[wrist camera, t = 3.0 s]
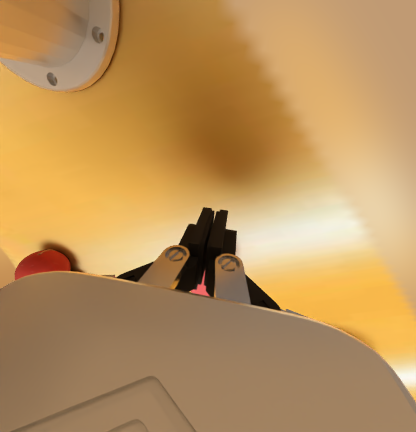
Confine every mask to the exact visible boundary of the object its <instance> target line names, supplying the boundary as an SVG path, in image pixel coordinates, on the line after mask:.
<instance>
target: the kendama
mask: <svg viewBox="0 0 416 432" xmlns="http://www.w3.org/2000/svg"><path fill="white" fill-rule="evenodd" d="M51 271H70V262H69V260H68V258H67V257H66V256H65V255H64V254H62V253H60V252H58V251H55V250H52V249H50V250H43V251H38V252H35V253H33V254H31V255H29V256H27V257H26V258H24V259H23V260H22V261H21V262H20V263H19V265H18V266H17V268H16V271H15V280H17V279H19V278H22V277H25V276H28V275H32V274H37V273H43V272H51Z"/></svg>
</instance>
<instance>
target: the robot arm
mask: <svg viewBox="0 0 416 432" xmlns="http://www.w3.org/2000/svg"><path fill="white" fill-rule="evenodd" d="M118 27H119V0H0V62H1V63H2V64H4V65H5V66H6V67H7V68H8V69H9V70H10V71H12V72H13V73H15V74H16V75H18V76H19V77H21V78H22V79H24V80H25V81H27V82H29V83H31V84H33V85H36V86H38V87H40V88H44V89H48V90H52V91H59V92H73V91H80V90H82V89H85V88H87V87H89V86H91V85H92V84H93V83H95V82H96V81H97V80H98V79H99V78H100V77H101V76H102V74H103V73H104V71H105V70H106V69H107V67H108V65H109V63H110V60H111V58H112V55H113V53H114V50H115V45H116V40H117V36H118ZM103 36H104V40H103ZM227 215H228V211H227V210H220V212H219V211H217V212H216V216H215V219H214V211H212V208H205V207H204V208H203V210H202V212H201V215H200V217H199V219H198V222H197V224H196V225H195V224H189V225H188V227H187V229H186V231H185V233H184V235H183V237H182V239H181V241H180V243H179V245H173V246H170V247H168V248H166V249H165V250H164V251H163V252H162V253H161V255H160V256H159V257H158V258H157V259H156V260H155V261H154V262H152V263H149V264H146V265H144V266H141V267H139V268H136V269H133V270H131V271H128V272H126V273H123V274H121V275H119V276H118V277H115V275H95V274H89V273H82V272H72V271H51V272H43V273H37V274H32V275H28V276H25V277H22V278H19V279H17V280H15V281H14V282H11V283H10V284H8V285H6V286H4V287H3V288H1V289H0V432H416V402H415V400H414V398H413V397H412V396H411V394H410V393H409V391H408V390H407V388H406V387H405V385H404V384H403V382H402V381H401V380H400V378H399V377H398V376H397V374H396V373H395V372H394V370H393V369H392V368H391V367H390V366H389V364H388V363H387V362H386V361H385V360H384V359H383V358H382V357H381V356H380V355H379V354H378V353H377V352H376V351H375V350H373V349H372V348H371V347H369V346H368V345H367V344H365V343H364V342H362V341H361V340H359V339H357V338H356V337H354V336H352V335H350V334H348V333H346V332H344V331H342V330H340V329H338V328H336V327H333V326H331V325H329V324H326V323H324V322H321V321H318V320H314V319H311V318H308V317H306V316H303V315H301V314H298V313H296V312H293V311H291V310H288V309H286V311H284V310H282V309H280V307H279V306H278V305H277V304H276V302H275V301H273V300H272V299H271V298H270V297H269V296H268V295H267V294H266V293H265V292H264V291H263V290H262V289H261V288H259V287H258V286H257V285H256V284H255V283H254V282H253V281H252V280H251V279H250V278H249V277H248V276H247V275H246V274H245V272H244V267H243V263H242V261H241V260H240V258H238V257H237V256H235V252H236V235H237V231H234V230H228V229H226V222H227ZM213 222H214V223H213ZM204 272H205V276H204ZM203 276H204V286H206V292H207V293H208V295H209V296H205V295H200V294H195V293H190V292H189V291H191V290H193V289H194V290H197V286H198V284H199V285H201V284H202V280H203Z"/></svg>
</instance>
